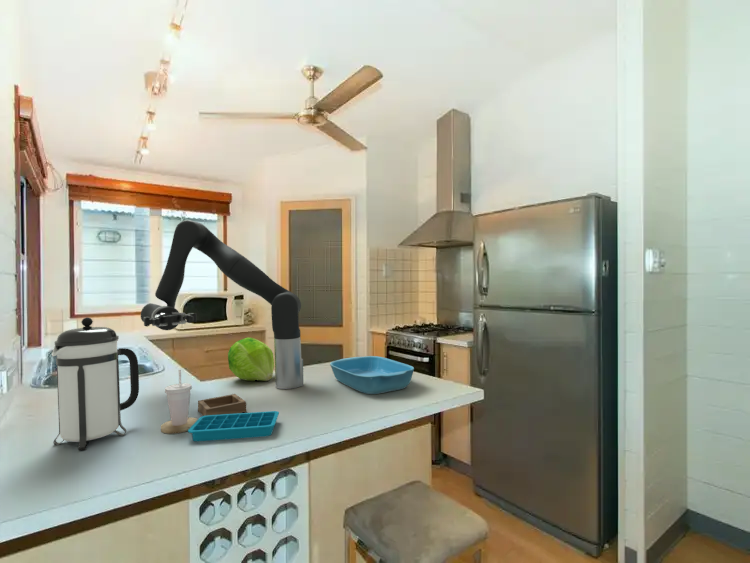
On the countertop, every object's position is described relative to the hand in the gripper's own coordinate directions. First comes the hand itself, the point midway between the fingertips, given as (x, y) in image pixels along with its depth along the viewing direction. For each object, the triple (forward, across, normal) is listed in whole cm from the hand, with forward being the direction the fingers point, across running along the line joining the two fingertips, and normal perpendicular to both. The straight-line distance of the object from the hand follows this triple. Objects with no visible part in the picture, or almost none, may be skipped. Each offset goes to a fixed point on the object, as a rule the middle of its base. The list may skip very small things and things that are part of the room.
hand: (174, 320), depth 119 cm
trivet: (+14, -2, +27) cm, 30 cm away
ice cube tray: (+26, +8, +28) cm, 39 cm away
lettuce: (-24, +30, +27) cm, 47 cm away
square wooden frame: (+8, +10, +27) cm, 30 cm away
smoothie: (+13, -2, +26) cm, 29 cm away
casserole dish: (+11, +61, +28) cm, 68 cm away
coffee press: (+7, -20, +27) cm, 35 cm away
